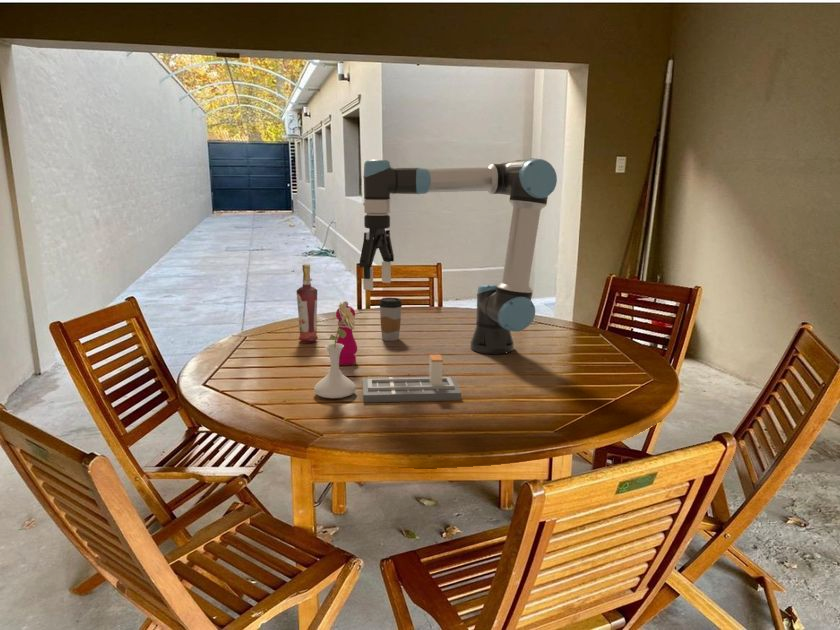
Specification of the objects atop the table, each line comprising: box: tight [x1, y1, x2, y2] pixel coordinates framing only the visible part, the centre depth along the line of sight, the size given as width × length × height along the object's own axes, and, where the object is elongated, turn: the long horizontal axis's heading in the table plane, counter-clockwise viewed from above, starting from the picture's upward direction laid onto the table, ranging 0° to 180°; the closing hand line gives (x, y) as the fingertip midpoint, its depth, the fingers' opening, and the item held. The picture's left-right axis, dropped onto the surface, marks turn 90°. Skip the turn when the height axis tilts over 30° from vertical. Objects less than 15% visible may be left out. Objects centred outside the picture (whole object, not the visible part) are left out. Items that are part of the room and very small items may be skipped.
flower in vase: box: [313, 302, 357, 399], centre depth 154 cm, size 13×11×25 cm
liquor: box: [296, 264, 319, 344], centre depth 206 cm, size 7×7×28 cm
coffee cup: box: [378, 297, 403, 342], centre depth 212 cm, size 8×8×15 cm
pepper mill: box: [335, 300, 358, 366], centre depth 183 cm, size 7×7×20 cm
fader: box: [428, 354, 444, 385], centre depth 158 cm, size 3×5×8 cm, turn 6°
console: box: [362, 375, 462, 403], centre depth 159 cm, size 26×14×3 cm, turn 96°
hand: (377, 286), depth 173 cm, fingers open, 13 cm apart
